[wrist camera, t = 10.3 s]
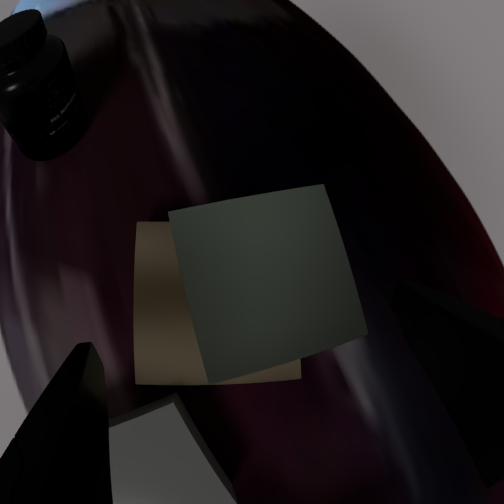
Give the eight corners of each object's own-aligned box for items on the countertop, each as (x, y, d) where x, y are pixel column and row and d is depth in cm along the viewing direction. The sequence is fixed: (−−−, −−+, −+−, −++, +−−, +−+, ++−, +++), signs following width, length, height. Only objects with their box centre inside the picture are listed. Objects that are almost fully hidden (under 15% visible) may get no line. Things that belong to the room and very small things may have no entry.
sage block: (274, 332, 19) (368, 333, 9) (200, 352, 18) (209, 384, 8) (255, 259, 20) (323, 183, 9) (181, 276, 19) (167, 212, 8)
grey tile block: (231, 482, 18) (239, 507, 15) (136, 515, 16) (129, 542, 12) (176, 391, 20) (173, 402, 16) (80, 429, 17) (60, 444, 14)
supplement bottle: (87, 153, 23) (41, 42, 11) (18, 172, 21) (-51, 83, 10) (90, 94, 24) (63, -10, 13) (27, 112, 23) (-18, 22, 11)
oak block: (287, 373, 21) (301, 378, 19) (143, 378, 20) (135, 384, 17) (279, 237, 24) (291, 223, 21) (143, 236, 22) (137, 221, 19)
